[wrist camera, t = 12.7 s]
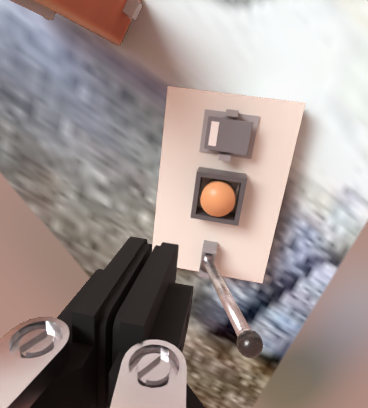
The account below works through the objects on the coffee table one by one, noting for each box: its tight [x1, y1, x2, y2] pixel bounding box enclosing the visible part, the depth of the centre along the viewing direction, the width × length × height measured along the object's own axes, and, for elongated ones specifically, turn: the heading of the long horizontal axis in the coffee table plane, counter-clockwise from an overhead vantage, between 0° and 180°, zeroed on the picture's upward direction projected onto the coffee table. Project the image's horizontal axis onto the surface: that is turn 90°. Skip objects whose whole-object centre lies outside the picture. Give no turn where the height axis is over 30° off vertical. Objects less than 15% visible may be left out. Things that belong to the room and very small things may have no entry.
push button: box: [200, 179, 235, 217], centre depth 32 cm, size 4×4×2 cm
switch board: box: [152, 86, 306, 283], centre depth 34 cm, size 14×21×6 cm, turn 173°
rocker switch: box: [204, 116, 254, 155], centre depth 30 cm, size 4×3×1 cm
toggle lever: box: [200, 252, 263, 358], centre depth 29 cm, size 2×2×14 cm
